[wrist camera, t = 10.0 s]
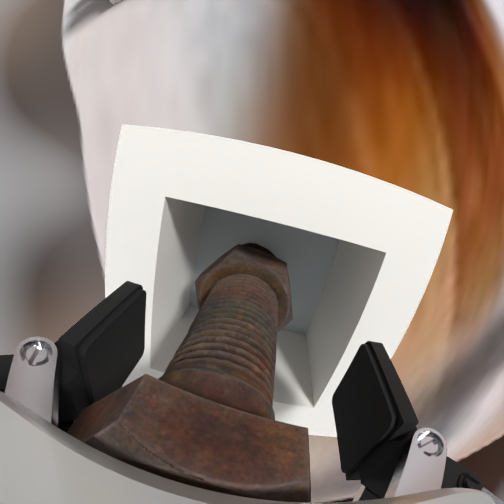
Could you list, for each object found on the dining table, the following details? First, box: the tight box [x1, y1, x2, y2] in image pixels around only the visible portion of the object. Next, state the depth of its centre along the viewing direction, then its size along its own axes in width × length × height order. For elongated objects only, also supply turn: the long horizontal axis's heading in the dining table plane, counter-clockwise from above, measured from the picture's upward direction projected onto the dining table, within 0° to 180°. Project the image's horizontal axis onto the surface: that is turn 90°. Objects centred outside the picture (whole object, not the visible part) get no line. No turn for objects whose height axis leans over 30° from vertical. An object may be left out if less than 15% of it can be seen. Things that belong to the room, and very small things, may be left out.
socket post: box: [105, 124, 453, 437], centre depth 15 cm, size 18×14×8 cm
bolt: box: [67, 243, 311, 503], centre depth 10 cm, size 6×5×15 cm
